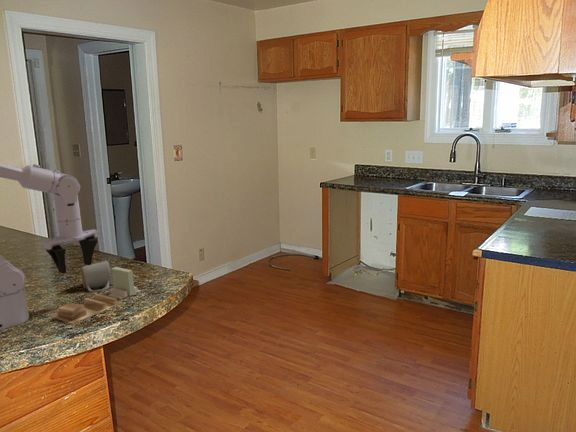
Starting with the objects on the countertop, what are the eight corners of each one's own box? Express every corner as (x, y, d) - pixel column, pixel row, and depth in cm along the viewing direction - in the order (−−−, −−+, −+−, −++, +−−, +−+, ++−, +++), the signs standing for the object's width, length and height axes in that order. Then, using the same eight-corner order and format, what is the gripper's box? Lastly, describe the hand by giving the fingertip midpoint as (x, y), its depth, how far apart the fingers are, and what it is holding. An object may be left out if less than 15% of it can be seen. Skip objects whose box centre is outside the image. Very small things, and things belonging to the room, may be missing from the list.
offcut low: (72, 320, 116) (71, 316, 116) (57, 316, 119) (57, 311, 119) (86, 314, 119) (86, 310, 119) (72, 310, 122) (71, 306, 122)
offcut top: (73, 315, 116) (72, 310, 116) (58, 312, 118) (58, 308, 118) (84, 309, 119) (83, 305, 119) (70, 307, 121) (69, 302, 121)
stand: (121, 302, 129) (120, 293, 129) (107, 298, 133) (106, 290, 132) (141, 293, 135) (140, 285, 135) (127, 290, 138) (126, 282, 138)
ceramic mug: (82, 286, 143) (79, 262, 142) (110, 281, 147) (107, 257, 145) (85, 298, 134) (81, 272, 132) (115, 292, 138) (112, 267, 136)
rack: (72, 327, 114) (71, 317, 114) (51, 320, 119) (49, 310, 119) (123, 305, 127) (122, 297, 126) (101, 299, 132) (100, 291, 131)
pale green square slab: (130, 295, 131) (127, 272, 130) (114, 291, 135) (111, 268, 133) (134, 293, 132) (132, 270, 131) (118, 289, 136) (116, 266, 135)
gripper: (51, 226, 116) (59, 278, 118) (102, 215, 128) (107, 263, 130) (35, 224, 119) (43, 274, 122) (86, 213, 131) (91, 259, 134)
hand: (75, 268), depth 127 cm, fingers open, 7 cm apart
